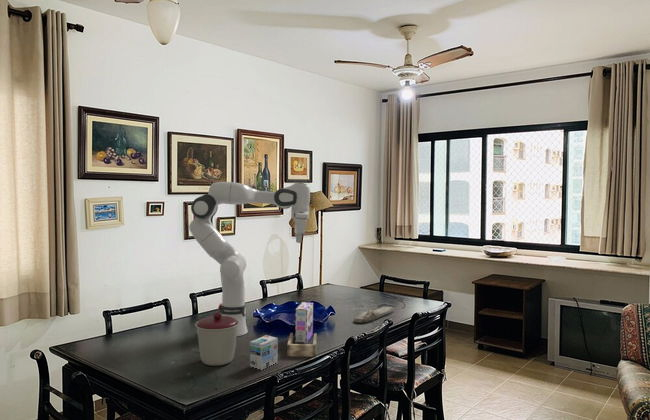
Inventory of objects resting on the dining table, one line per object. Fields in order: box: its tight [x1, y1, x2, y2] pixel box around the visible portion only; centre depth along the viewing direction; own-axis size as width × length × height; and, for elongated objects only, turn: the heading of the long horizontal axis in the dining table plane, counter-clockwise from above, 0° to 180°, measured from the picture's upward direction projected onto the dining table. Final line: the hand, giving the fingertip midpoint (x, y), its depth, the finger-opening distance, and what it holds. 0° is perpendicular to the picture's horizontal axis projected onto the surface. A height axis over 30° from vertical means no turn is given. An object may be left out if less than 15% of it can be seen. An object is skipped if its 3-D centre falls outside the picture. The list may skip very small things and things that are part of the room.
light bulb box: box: [249, 334, 279, 371], centre depth 197 cm, size 11×7×11 cm, turn 148°
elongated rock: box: [353, 306, 394, 324], centre depth 271 cm, size 35×5×10 cm
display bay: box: [286, 332, 318, 358], centre depth 216 cm, size 12×17×5 cm
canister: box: [194, 311, 239, 367], centre depth 200 cm, size 18×18×21 cm
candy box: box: [294, 301, 314, 344], centre depth 231 cm, size 14×6×16 cm, turn 168°
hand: (298, 242), depth 238 cm, fingers open, 8 cm apart
